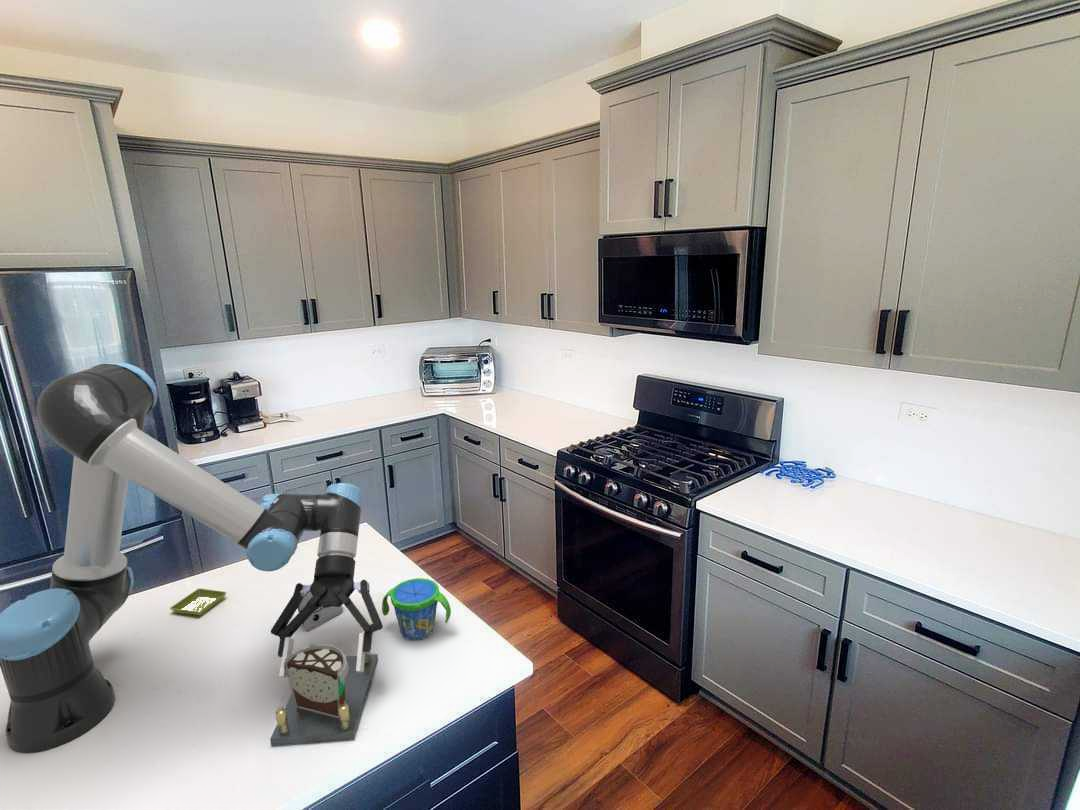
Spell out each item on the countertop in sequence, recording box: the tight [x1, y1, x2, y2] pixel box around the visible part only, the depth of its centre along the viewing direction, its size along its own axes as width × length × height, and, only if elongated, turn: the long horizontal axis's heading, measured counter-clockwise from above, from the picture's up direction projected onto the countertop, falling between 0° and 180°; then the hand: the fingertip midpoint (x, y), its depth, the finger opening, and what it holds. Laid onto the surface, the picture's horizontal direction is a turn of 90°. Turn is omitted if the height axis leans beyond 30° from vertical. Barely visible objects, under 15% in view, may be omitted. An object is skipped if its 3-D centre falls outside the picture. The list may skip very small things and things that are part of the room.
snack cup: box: [381, 577, 452, 641], centre depth 123 cm, size 16×10×10 cm
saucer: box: [169, 588, 227, 616], centre depth 135 cm, size 9×9×2 cm
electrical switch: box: [297, 583, 344, 631], centre depth 129 cm, size 9×5×9 cm, turn 141°
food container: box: [284, 644, 348, 718], centre depth 102 cm, size 12×6×10 cm, turn 73°
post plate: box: [269, 643, 379, 747], centre depth 105 cm, size 14×20×6 cm
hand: (322, 674), depth 101 cm, fingers open, 13 cm apart
